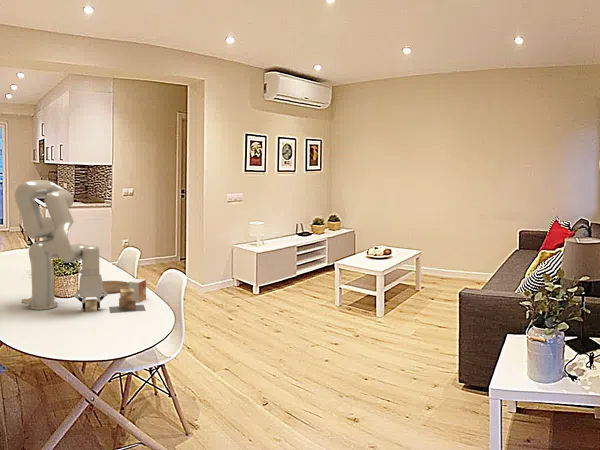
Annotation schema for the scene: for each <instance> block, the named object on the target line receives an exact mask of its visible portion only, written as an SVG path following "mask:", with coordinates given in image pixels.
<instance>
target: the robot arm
mask: <svg viewBox="0 0 600 450" xmlns="http://www.w3.org/2000/svg"><path fill="white" fill-rule="evenodd" d="M14 199H15V203H16V205H17V208H18V210H19V214H20V216H21V220H22V223H23V227H24V230H25V232H26V235H27V236H28V237H29V238H30V239H34V240H36V239H42V240H38V241H35V242H34V243H32V244H31V245H30V246H29V249H28V257H29V261H30V269H31V272H30V273H31V274H30V275H31V297H29V298H22V299H21V304H24V305H27V304H28V309H30V310H34V311H35V310H36V311H38V310H39V311H44V310H50V309H54V308H56V307H58V306H59V303H58V301H55V270H54V265H53V263H52V259H56V258H59V259H60V260H61V261H62V262H64V263H70V264H71V263H73V262H77V261H80V260H81V269H79V270H78V274H80V276H79V277H80V278H79V281H78V282H79V285H78V290H77V291H76V292H75V293H74V296H73V297H74V298H75V299H77V300H78V301H79V302H80V303H82V304H81V307H82V310H83V312H85V300H86V298H96V299H97V311H96V312H98V311H99V309H100V308H101V301H103V299H105V298H106V297H107V296H108V295H109V294H108V293H107V292H106V291H105V290H104V289H103V285H102V281H103V278H102V274H100V248H99V246H98V245H95V244H94V245H93V244H92V245H87V244H84V243H75V244H71V243H70V240H69V236H68V235H69V230H70V228H71V227H72V225H73V224H74V218H73V216H72V214H71V211H70V209H69V208H71V207H72V206H73V204H74V196H73V195H72V194H71V192H70V191H68V190H66V189H64V188H63V187H61V186H60V185H57V184H56V183H54V182H53V181H50V180H48V179H47V180H45V179H38V180H37V179H36V180H35V179H34V180H32V179H31V180H26V181H23V182H21V183H20V184H19V185H17V187H16V189H15V191H14ZM35 199H44V204H45V206H46V208H47V212H48V213H49V217H48V216H43V214H42V212H41V209H40V206H39V205H38V203H37V202H36V200H35ZM103 293H104V294H103Z"/></svg>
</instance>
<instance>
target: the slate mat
mask: <svg viewBox="0 0 600 450" xmlns="http://www.w3.org/2000/svg"><path fill="white" fill-rule="evenodd" d="M108 310H109V313H110V314H116V313H117V314H118V313H130V312H131V313H132V312H133V313H134V312H146V307H145V305H144V304H136V310H131V311H120V309H119V305H118V306H117V305H116V306H109V307H108Z"/></svg>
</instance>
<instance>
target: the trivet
mask: <svg viewBox="0 0 600 450" xmlns="http://www.w3.org/2000/svg"><path fill="white" fill-rule="evenodd" d="M102 285H103V289H104V290H105V291H106V292H107V293H108V295H113V294H120V289H129V281H123V280H102ZM103 294H104V293H103ZM103 294H102V295H103Z"/></svg>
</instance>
